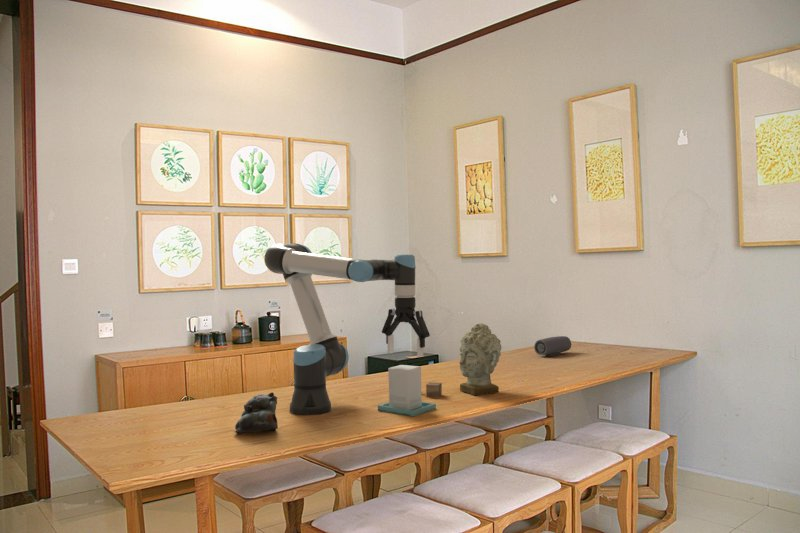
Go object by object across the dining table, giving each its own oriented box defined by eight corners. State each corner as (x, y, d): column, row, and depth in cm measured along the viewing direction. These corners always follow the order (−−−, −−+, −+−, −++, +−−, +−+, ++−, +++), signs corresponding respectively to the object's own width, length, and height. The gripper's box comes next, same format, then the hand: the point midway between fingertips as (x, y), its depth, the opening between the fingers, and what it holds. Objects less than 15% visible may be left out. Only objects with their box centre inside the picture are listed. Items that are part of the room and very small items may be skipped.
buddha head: (449, 390, 269) (448, 323, 269) (486, 386, 278) (485, 320, 278) (472, 398, 254) (471, 327, 254) (510, 393, 263) (509, 324, 262)
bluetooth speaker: (558, 352, 370) (558, 334, 370) (572, 353, 363) (572, 335, 362) (533, 356, 355) (533, 338, 355) (547, 358, 348) (547, 339, 348)
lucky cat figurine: (225, 434, 207) (229, 392, 214) (253, 440, 216) (256, 400, 223) (259, 426, 200) (262, 382, 207) (286, 433, 209) (288, 391, 215)
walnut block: (438, 397, 256) (438, 385, 256) (426, 397, 258) (426, 384, 258) (441, 395, 261) (441, 382, 261) (429, 394, 263) (429, 382, 263)
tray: (412, 416, 227) (412, 411, 227) (377, 410, 237) (377, 405, 237) (435, 408, 238) (435, 403, 238) (401, 403, 248) (401, 398, 248)
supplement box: (422, 406, 239) (422, 366, 238) (408, 411, 231) (408, 369, 231) (402, 403, 244) (401, 364, 244) (388, 408, 236) (387, 367, 236)
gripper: (439, 297, 232) (439, 356, 232) (385, 294, 247) (385, 350, 248) (426, 298, 226) (427, 359, 226) (372, 295, 241) (372, 352, 242)
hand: (405, 354), depth 237 cm, fingers open, 13 cm apart
